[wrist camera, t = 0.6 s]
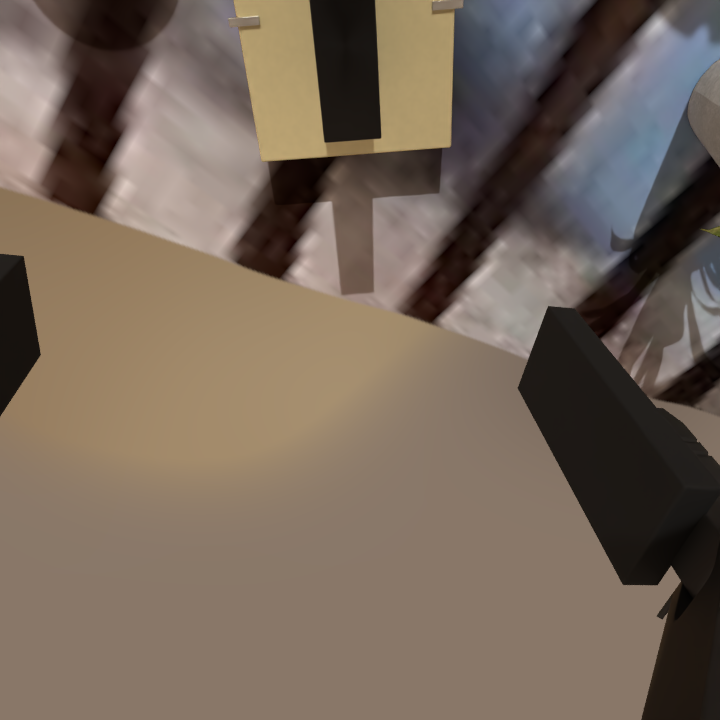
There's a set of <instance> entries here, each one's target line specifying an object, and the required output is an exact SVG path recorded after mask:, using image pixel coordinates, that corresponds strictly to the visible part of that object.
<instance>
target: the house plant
mask: <svg viewBox="0 0 720 720" xmlns="http://www.w3.org/2000/svg"><path fill="white" fill-rule="evenodd" d="M687 116H688V119H689V122H690V125H691V127H692V129H693V131H694V133H695V134H696V136H697V137H698V139H699V140H700V141H701V143H702V144H703V145H704V147H705V148H706V149H707V151H708V152H709V154H710V155H711V156H712V158H713V159H714V160H715V162H716V163H717V164H718V166H719V167H720V59H719V60H718V61H716V62H715V63H714V64H713V65H711V67H710V68H709V69H708V70H707V71H706V72H705V73H704V74H703V75H702V77H701V78H700V80H699V81H698V83H697V85H696V86H695V88H694V90H693V92H692V95H691V98H690V100H689V105H688V113H687ZM701 230H703V231H706V232H709V233H711V234H713V235H716V236H718V237H720V226H718V227H715V228H712V229H710V230H707V229H701Z"/></svg>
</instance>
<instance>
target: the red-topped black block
mask: <svg viewBox="0 0 720 720" xmlns="http://www.w3.org/2000/svg"><path fill="white" fill-rule="evenodd" d="M309 2H310V12H311V21H312V31H313V40H314V50H315V59H316V69H317V78H318V88H319V97H320V107H321V116H322V125H323V135H324V142H325V143H331V142H344V141H357V140H369V139H380V138H381V137H382V136H381V114H380V92H379V70H378V49H377V27H376V5H375V0H309Z"/></svg>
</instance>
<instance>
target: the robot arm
mask: <svg viewBox="0 0 720 720" xmlns="http://www.w3.org/2000/svg"><path fill="white" fill-rule="evenodd" d="M40 355H41V354H40V348H39V342H38V336H37V330H36V325H35V319H34V313H33V307H32V302H31V296H30V290H29V284H28V279H27V273H26V267H25V261H24V256H17V255H6V254H0V416H1V414H2V413H3V411H4V410H5V408H6V407H7V405H8V404H9V402H10V401H11V399H12V398H13V396H14V395H15V393H16V391H17V390H18V388H19V387H20V385H21V384H22V382H23V381H24V379H25V378H26V376H27V375H28V373H29V372H30V370H31V369H32V367H33V366H34V364H35V363H36V361H37V359H38V358H39V356H40ZM518 390H519V391H520V393H521V395H522V397H523V399H524V400H525V403H526V404H527V406H528V408H529V410H530V412H531V414H532V416H533V418H534V419H535V421H536V423H537V425H538V427H539V429H540V431H541V432H542V434H543V436H544V438H545V440H546V442H547V444H548V446H549V447H550V449H551V451H552V453H553V455H554V457H555V459H556V461H557V462H558V464H559V466H560V468H561V470H562V472H563V473H564V475H565V477H566V479H567V481H568V483H569V485H570V487H571V488H572V490H573V492H574V494H575V496H576V498H577V500H578V501H579V504H580V505H581V507H582V509H583V511H584V513H585V515H586V517H587V518H588V520H589V522H590V524H591V526H592V528H593V530H594V532H595V533H596V535H597V537H598V539H599V541H600V543H601V544H602V546H603V548H604V550H605V552H606V554H607V556H608V558H609V560H610V561H611V563H612V565H613V567H614V569H615V571H616V573H617V574H618V576H619V578H620V580H621V582H622V584H623V585H658V584H659V582H660V581H661V579H662V578H663V576H664V575H665V573H666V572H667V571H668V569H669V568H670V566H672V567H673V569H674V570H675V572H676V574H677V575H678V576H679V578H680V579H681V583H680V584H679V585H678V587H677V588H676V589H675V591H674V592H673V594H672V595H671V596H670V598H669V599H668V601H667V602H666V603H665V605H664V606H663V608H662V609H661V611H660V612H659V613H658V615H657V617H659V618H661V619H663V618H664V616H665V615H666V614H667V613H668V615H667V619H666V623H665V627H664V631H663V635H662V639H661V643H660V647H659V651H658V655H657V659H656V664H655V667H654V671H653V676H652V680H651V683H650V687H649V691H648V695H647V699H646V703H645V707H644V711H643V715H642V719H641V720H720V465H719V464H718V463H717V462H716V461H715V460H714V459H713V457H712V456H708V451H707V450H706V449H705V448H704V447H703V446H702V445H701V443H700V442H699V443H698V442H697V439H696V437H695V436H694V435H693V434H692V433H691V432H690V430H689V429H688V428H687V427H686V426H685V425H684V424H683V423H682V422H681V421H680V420H678V419H677V418H675V417H674V416H673V415H671V414H670V413H669V412H667V411H666V410H665V409H663V408H656V407H655V405H654V404H653V403H652V402H651V401H650V399H649V398H648V397H647V396H646V395H645V393H644V392H643V391H642V390H641V388H640V387H639V386H638V385H637V384H636V382H635V381H634V380H633V379H632V378H631V376H630V375H629V374H628V373H627V372H626V370H625V369H624V368H623V367H622V366H621V364H620V363H619V362H618V361H617V359H616V358H615V357H614V356H613V355H612V353H611V352H610V351H609V350H608V349H607V347H606V346H605V345H604V344H603V343H602V341H601V340H600V339H599V338H598V337H597V335H596V334H595V333H594V332H593V331H592V329H591V328H590V327H589V326H588V324H587V323H586V322H585V321H584V320H583V318H582V317H581V316H580V315H579V314H578V312H577V311H576V310H575V309H573V308H562V307H552V306H548V308H547V311H546V313H545V316H544V319H543V321H542V324H541V327H540V329H539V332H538V335H537V338H536V340H535V343H534V346H533V348H532V351H531V354H530V357H529V359H528V362H527V365H526V367H525V370H524V373H523V375H522V378H521V381H520V384H519V386H518Z"/></svg>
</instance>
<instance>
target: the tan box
mask: <svg viewBox="0 0 720 720" xmlns="http://www.w3.org/2000/svg"><path fill="white" fill-rule="evenodd" d="M375 5H376V27H377V49H378V70H379V92H380V114H381V136H382V137H381V138H380V139H369V140H357V141H344V142H331V143H325V142H324V135H323V125H322V116H321V107H320V97H319V88H318V78H317V69H316V59H315V50H314V40H313V31H312V21H311V12H310V2H309V0H234V6H235V11H236V17H235V18H228V21H229V26H230V27H238V29H239V34H240V40H241V46H242V52H243V57H244V63H245V69H246V75H247V80H248V86H249V92H250V97H251V103H252V109H253V115H254V120H255V126H256V132H257V138H258V143H259V149H260V155H261V160H262V162H267V161H280V160H293V159H306V158H319V157H332V156H345V155H358V154H371V153H384V152H397V151H410V150H423V149H436V148H449V147H451V126H452V88H453V50H454V12H455V9H457V8H463V0H375Z"/></svg>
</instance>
